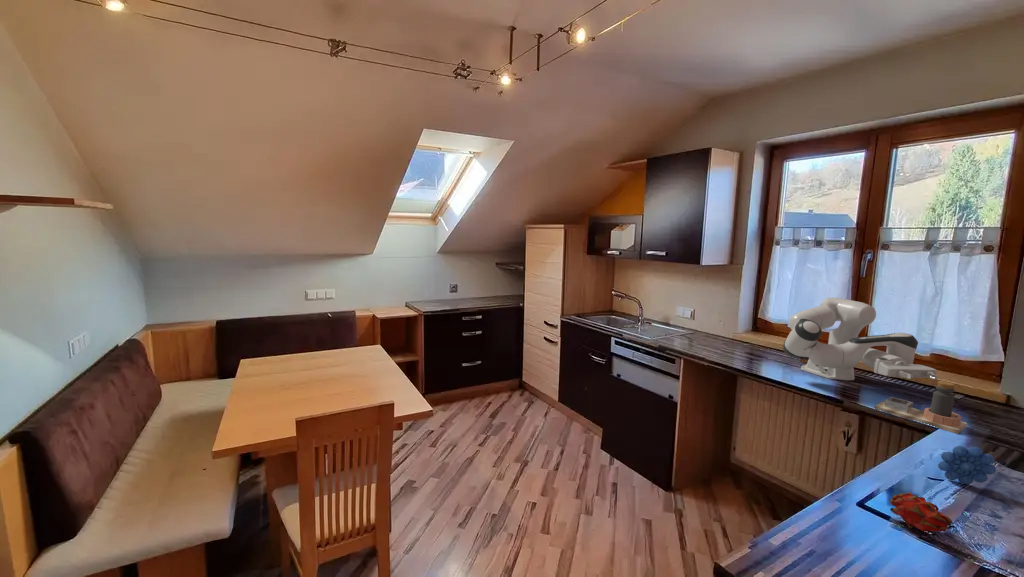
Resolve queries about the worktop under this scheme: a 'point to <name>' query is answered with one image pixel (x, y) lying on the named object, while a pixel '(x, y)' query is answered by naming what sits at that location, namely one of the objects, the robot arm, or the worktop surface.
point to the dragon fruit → (919, 513)
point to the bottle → (943, 399)
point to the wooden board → (920, 418)
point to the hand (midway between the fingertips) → (924, 377)
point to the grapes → (967, 465)
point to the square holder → (899, 404)
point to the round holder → (942, 418)
